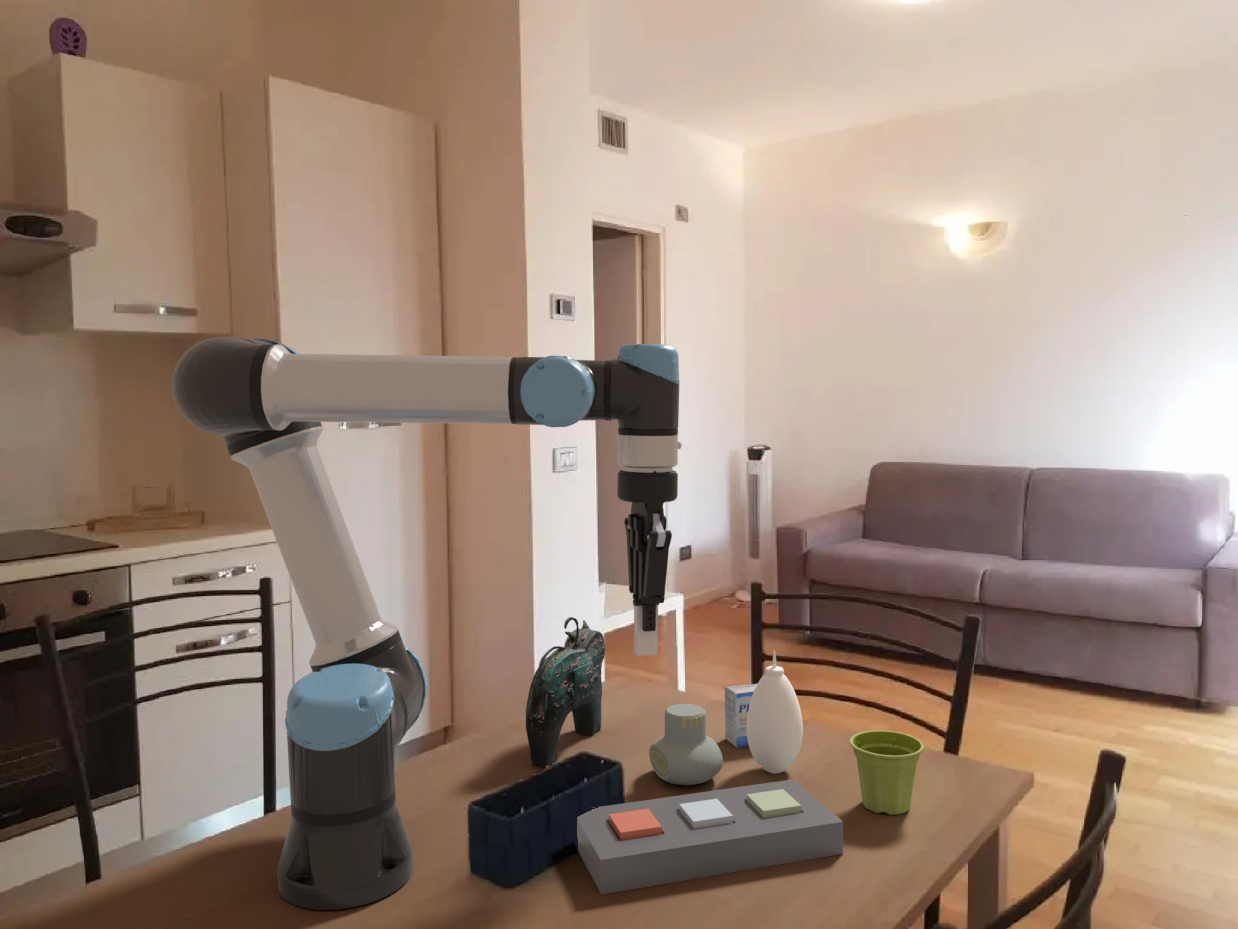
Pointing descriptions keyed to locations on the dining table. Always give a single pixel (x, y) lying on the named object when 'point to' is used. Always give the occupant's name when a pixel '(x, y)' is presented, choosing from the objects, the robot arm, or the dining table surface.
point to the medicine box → (737, 713)
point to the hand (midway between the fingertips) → (645, 653)
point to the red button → (634, 824)
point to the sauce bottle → (774, 721)
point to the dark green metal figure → (565, 692)
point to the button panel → (705, 839)
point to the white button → (705, 814)
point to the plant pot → (886, 769)
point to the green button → (773, 803)
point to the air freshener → (685, 748)
